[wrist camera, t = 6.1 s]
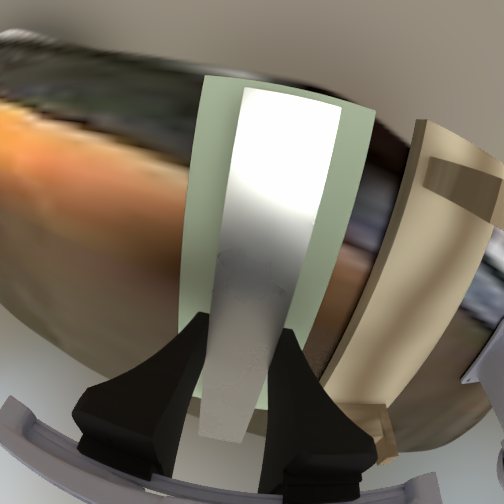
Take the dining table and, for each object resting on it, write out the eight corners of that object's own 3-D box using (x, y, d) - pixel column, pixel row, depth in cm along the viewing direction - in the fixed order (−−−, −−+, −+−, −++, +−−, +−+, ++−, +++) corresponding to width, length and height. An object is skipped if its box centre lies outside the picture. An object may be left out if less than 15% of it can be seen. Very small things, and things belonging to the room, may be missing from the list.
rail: (252, 98, 10) (244, 86, 7) (324, 113, 10) (341, 107, 7) (206, 403, 18) (198, 435, 16) (244, 410, 18) (240, 443, 16)
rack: (498, 165, 11) (572, 194, 5) (371, 413, 21) (382, 470, 15) (416, 119, 11) (501, 124, 5) (301, 411, 21) (303, 476, 15)
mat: (371, 111, 11) (376, 111, 11) (274, 405, 20) (274, 410, 20) (207, 77, 11) (205, 75, 11) (180, 387, 20) (178, 392, 20)
